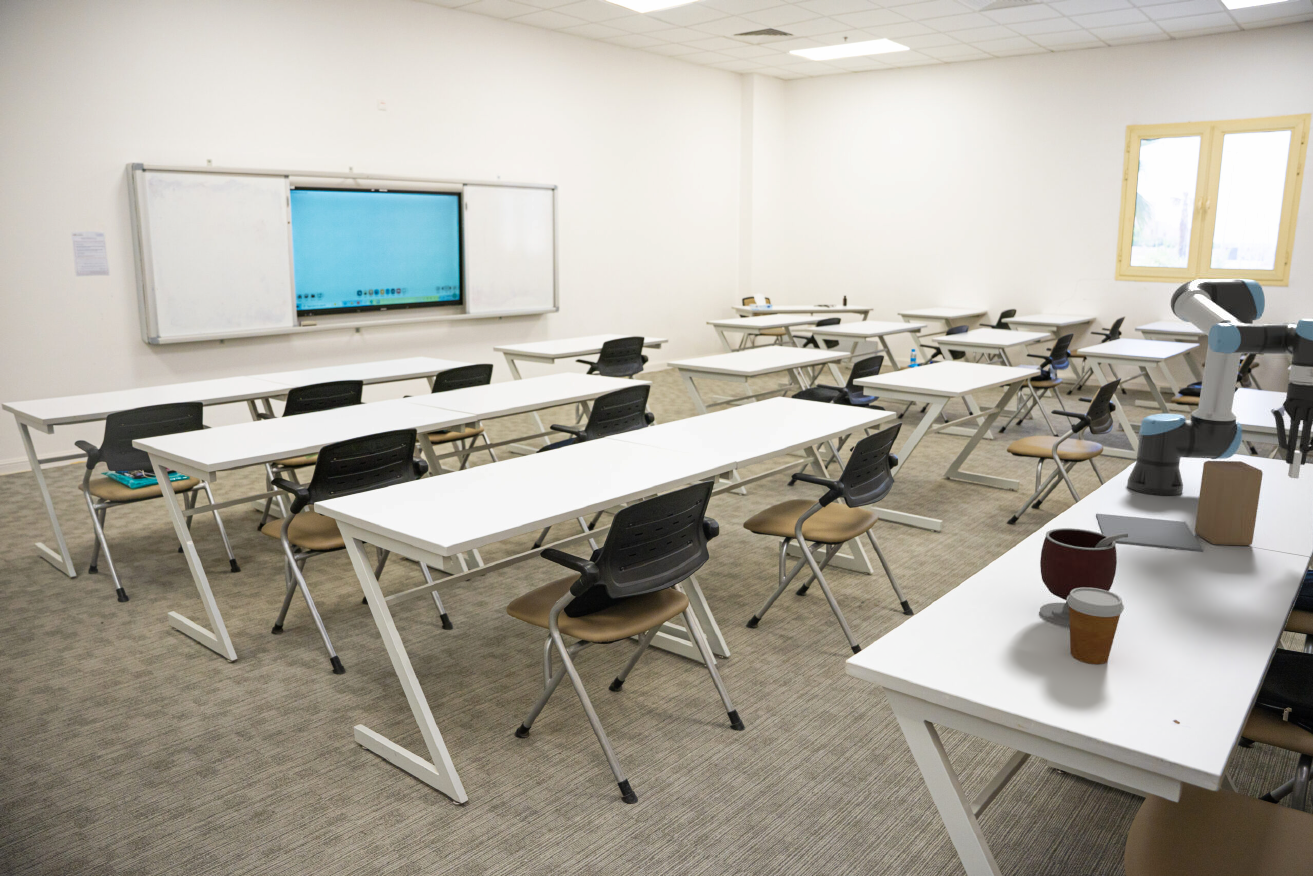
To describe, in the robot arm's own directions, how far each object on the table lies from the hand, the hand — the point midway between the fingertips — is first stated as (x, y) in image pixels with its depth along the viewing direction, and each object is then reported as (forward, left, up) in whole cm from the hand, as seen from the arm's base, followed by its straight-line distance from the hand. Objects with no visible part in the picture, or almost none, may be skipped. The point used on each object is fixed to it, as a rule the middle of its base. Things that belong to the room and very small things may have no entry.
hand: (1293, 476), depth 221 cm
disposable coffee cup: (+85, -51, -18) cm, 101 cm away
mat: (0, -31, -18) cm, 36 cm away
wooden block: (0, -13, -18) cm, 23 cm away
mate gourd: (+67, -52, -18) cm, 87 cm away
